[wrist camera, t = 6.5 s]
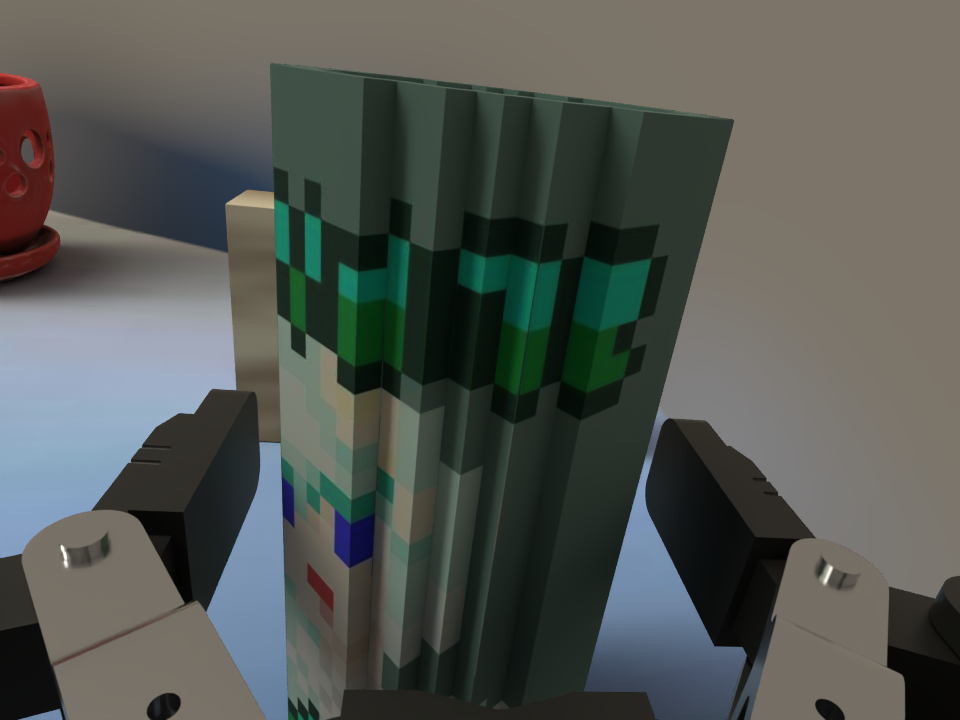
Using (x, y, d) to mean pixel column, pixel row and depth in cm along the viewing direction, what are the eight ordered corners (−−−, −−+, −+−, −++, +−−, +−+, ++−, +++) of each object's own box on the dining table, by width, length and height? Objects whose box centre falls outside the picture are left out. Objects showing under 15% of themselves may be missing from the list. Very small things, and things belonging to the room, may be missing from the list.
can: (250, 737, 15) (203, 54, 9) (441, 616, 19) (502, 87, 13) (399, 992, 11) (504, 98, 5) (599, 773, 15) (797, 126, 9)
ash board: (601, 458, 28) (650, 244, 24) (239, 439, 26) (225, 204, 22) (586, 424, 31) (628, 226, 27) (257, 405, 29) (247, 190, 25)
